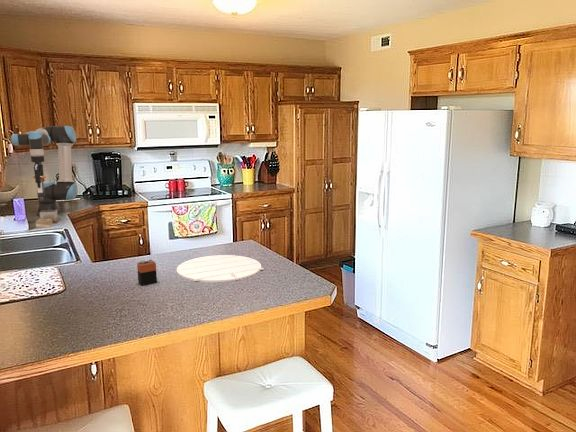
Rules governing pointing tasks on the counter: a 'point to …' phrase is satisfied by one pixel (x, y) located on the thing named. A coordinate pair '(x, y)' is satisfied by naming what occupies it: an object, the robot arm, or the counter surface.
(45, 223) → the block
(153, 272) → the battery
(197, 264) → the lazy susan
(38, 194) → the chuck key
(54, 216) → the chuck
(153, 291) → the counter surface
